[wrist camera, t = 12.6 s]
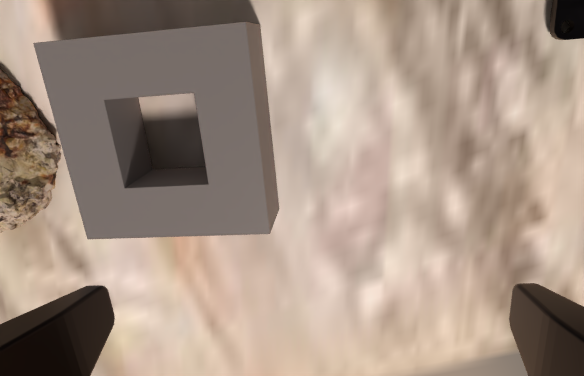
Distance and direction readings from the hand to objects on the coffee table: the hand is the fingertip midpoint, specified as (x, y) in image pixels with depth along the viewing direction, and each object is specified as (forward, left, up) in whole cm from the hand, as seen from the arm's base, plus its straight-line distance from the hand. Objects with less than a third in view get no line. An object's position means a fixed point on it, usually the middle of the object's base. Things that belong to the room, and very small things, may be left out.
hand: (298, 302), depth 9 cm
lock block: (+7, -2, -12) cm, 14 cm away
